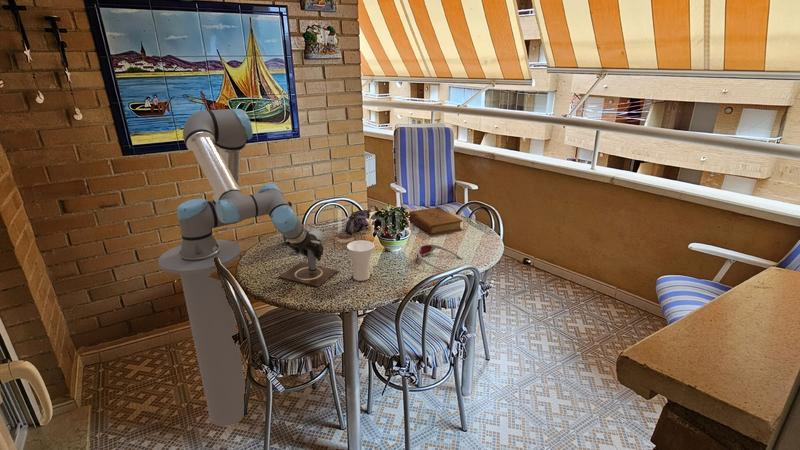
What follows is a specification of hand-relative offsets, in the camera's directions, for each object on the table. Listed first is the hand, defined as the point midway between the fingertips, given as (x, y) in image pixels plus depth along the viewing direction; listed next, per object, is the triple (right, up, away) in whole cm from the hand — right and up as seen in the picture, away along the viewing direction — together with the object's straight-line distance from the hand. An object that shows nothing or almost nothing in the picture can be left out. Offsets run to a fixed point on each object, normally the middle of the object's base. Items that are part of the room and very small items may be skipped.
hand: (315, 257), depth 165 cm
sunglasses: (+50, -3, +10) cm, 51 cm away
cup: (+19, -8, -4) cm, 21 cm away
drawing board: (-2, -7, -2) cm, 8 cm away
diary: (+52, +12, +50) cm, 73 cm away
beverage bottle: (-17, +4, +28) cm, 33 cm away
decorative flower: (+13, +10, +44) cm, 47 cm away
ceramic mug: (-7, +3, +24) cm, 25 cm away
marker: (-1, -5, -2) cm, 5 cm away
